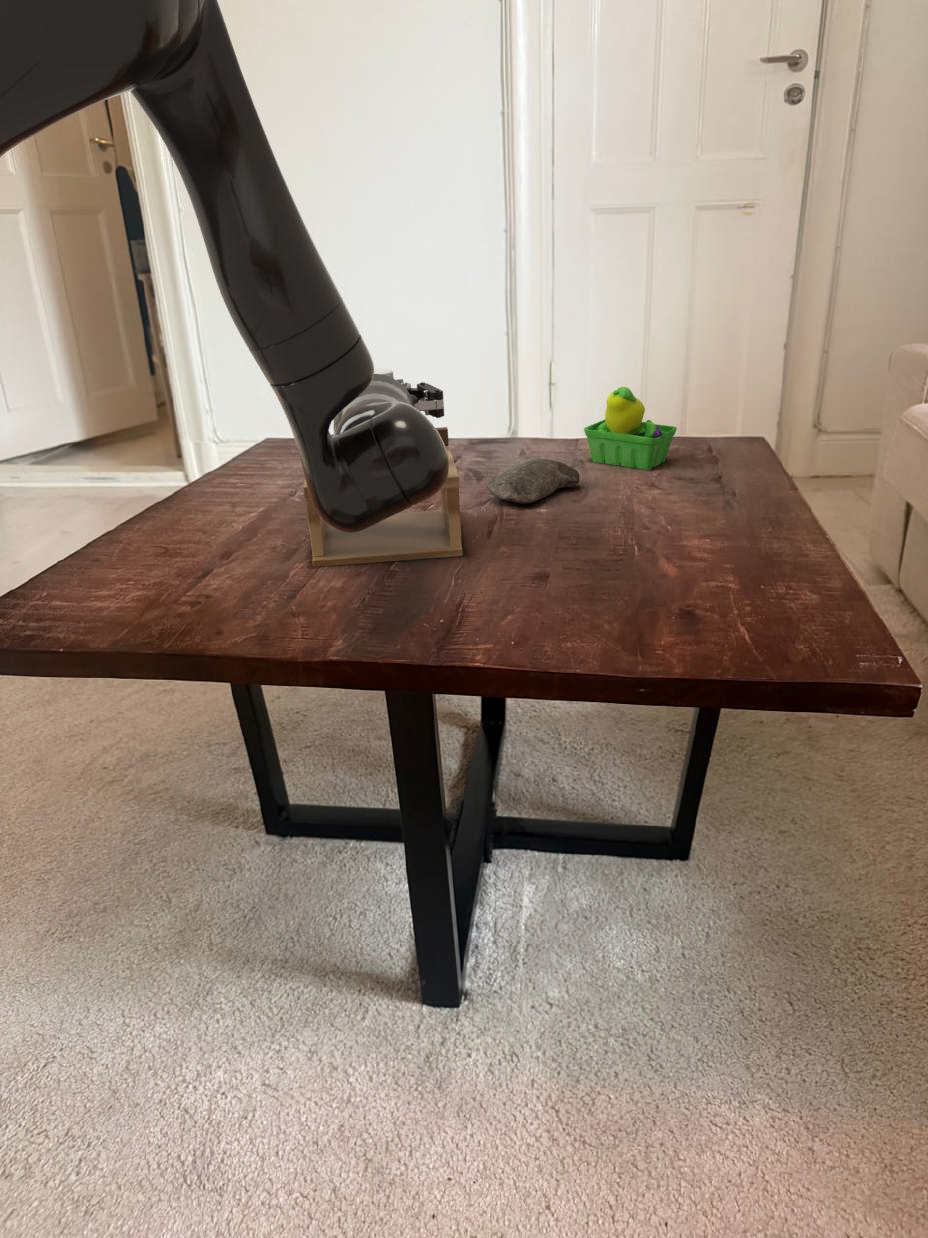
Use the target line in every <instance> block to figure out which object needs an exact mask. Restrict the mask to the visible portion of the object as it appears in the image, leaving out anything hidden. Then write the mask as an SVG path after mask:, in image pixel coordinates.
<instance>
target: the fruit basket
mask: <svg viewBox="0 0 928 1238" xmlns="http://www.w3.org/2000/svg"><path fill="white" fill-rule="evenodd" d="M645 411H646V407H645V406H644V404H643V402H642V401H641V400H639V398H638V397H636V396H635V395H634V394H633V392H632V391H631V389H630V388H629V387H627V386H620V387H617V389H614V390H613V391H612V392H610V394H609V395H608V397H607V399H606V408H605V414H604V419H602V420H599V421H597V422H595V423H592V424H589V425H588V426H585V427H583V431H584V435H585V436H586V439H587V443H588V448H589V451H590V452H589V453H590V456H591V460H592V462H593V463H599V464H607V465H613V466H622V467H627V468H634V469H641V470H649V471H650V470H652V469H653V468H655V467H657V466H659V465H661V464H662V463H665V462H666V459H667V456H668V454H669V450H670V448H671V444H672V442H673V439H674V436H675V435H676V432H677V429H678V427H677V426H673V425H665V424H658V423H657V424H656V423H654V422H653V421H652V420H651V419H647V420H646V421H643V419H644V415H645Z"/></svg>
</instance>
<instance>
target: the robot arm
mask: <svg viewBox="0 0 928 1238" xmlns="http://www.w3.org/2000/svg"><path fill="white" fill-rule="evenodd" d="M240 66H241V65H240V64H239V60H238V58H237V55H236V51H235V48H234V45H233V42H232V40H231V36H230V33H229V30H228V27H227V25H226V22H225V19H224V16H223V12H222V10H221V7H220V4H219V1H218V0H0V158H2V157H3V156H4V155H5V154H6V153H7V152H9V151H10V150H12V149H13V148H15V147H16V146H18V145H19V144H21V143H22V142H24V141H26V140H28V139H30V138H32V137H34V136H35V135H38V134H39V133H40V132H43V131H44V130H46V129H48V128H50V127H51V126H53V125H55V124H58V123H59V122H61V121H63V120H65V119H66V118H69V117H71V116H73V115H75V114H77V113H79V112H81V111H83V110H85V109H88V108H91V107H92V106H94V105H96V104H98V103H100V102H103V101H106V100H110V99H112V98H116V97H119V96H121V95H124V94H126V93H129V92H130V94H132V96H133V98H134V99H135V100H136V101H137V103H138V104H139V106H140V107H141V108H142V110H143V111H144V113H145V115H146V116H147V117H148V119H149V120H150V121H151V124H152V125H153V126H154V128H155V129H156V131H157V132H158V134H159V136H160V138H161V140H162V141H163V143H164V145H165V146H166V148H167V149H166V150H168V152H169V154H170V156H171V158H172V161H173V162H174V164H175V166H176V169H177V170H178V173H179V175H180V177H181V180H182V182H183V185H184V187H185V189H186V191H187V194H188V196H189V200H190V203H191V205H192V208H193V211H194V214H195V217H196V219H197V223H198V226H199V230H200V232H201V235H202V239H203V242H204V246H205V249H206V253H207V256H208V259H209V262H210V263H209V264H210V266H211V269H212V272H213V276H214V278H215V282H216V284H217V288H218V290H219V292H220V295H221V297H222V300H223V302H224V305H225V306H226V309H227V311H228V313H229V316H230V318H231V320H232V322H233V324H234V326H235V327H236V329H237V331H238V333H239V334H240V337H241V338H242V340H243V342H244V344H245V345H246V347H247V348H248V350H249V352H250V354H251V356H252V357H253V359H254V361H255V362H256V364H257V366H258V367H259V369H260V370H261V372H262V374H263V376H264V377H265V379H266V381H267V382H268V383H269V385H270V387H271V390H272V391H273V392H274V394H275V396H276V398H277V400H278V401H279V404H280V406H281V408H282V410H283V412H284V415H285V417H286V419H287V423H288V424H289V427H290V430H291V433H292V436H293V438H294V441H295V444H296V449H297V453H298V455H299V459H300V464H301V467H302V471H303V475H304V481H305V480H306V484H307V488H308V491H309V494H310V497H311V500H312V503H313V505H314V507H315V509H316V511H317V513H318V514H319V515H320V517H321V518H322V519H323V520H324V521H325V522H326V523H327V524H329V525H330V526H332V527H334V528H335V529H337V530H340V531H343V532H348V533H354V532H358V531H362V530H364V529H366V528H368V527H371V526H373V525H375V524H377V523H379V522H381V521H383V520H385V519H387V518H389V517H391V516H393V515H395V514H397V513H402V512H404V511H406V510H407V509H410V508H411V507H413V506H416V505H418V504H421V503H422V502H424V501H425V502H426V501H427V500H428V499H430V498H432V497H433V496H435V495H436V494H437V493H438V492H439V491H441V487H442V486H443V485H444V483H445V481H446V479H447V476H448V470H449V462H448V455H447V451H446V448H445V445H444V443H443V440H442V438H441V436H440V434H439V433H438V431H437V430H436V428H437V427H436V426H435V425H434V424H433V423H432V421H431V420H430V419H429V418H428V417H427V416H431V417H433V418H436V419H441V418H442V417H445V403H444V402H445V401H444V390H442V389H440V388H438V387H436V386H434V385H432V384H429V383H426V382H425V381H423V382H420V383H417V384H416V387H412V384H411V383H409V382H404V379H403V378H400V379H395V378H394V379H393V378H391V377H389V376H386V375H382V374H374V369H375V364H374V360H373V358H372V355H371V352H370V350H369V349H368V346H367V344H366V342H365V341H364V339H363V336H362V335H361V333H360V330H359V328H358V326H357V325H356V322H355V321H354V319H353V316H352V315H351V313H350V311H349V309H348V307H347V305H346V303H345V300H344V299H343V297H342V295H341V293H340V291H339V290H338V287H337V285H336V283H335V281H334V280H333V278H332V275H331V274H330V272H329V270H328V268H327V266H326V264H325V263H324V261H323V258H322V257H321V256H322V255H320V252H319V250H318V249H317V247H316V244H315V243H314V240H313V238H312V236H311V233H310V232H309V230H308V228H307V226H306V224H305V222H304V219H303V217H302V216H301V213H300V211H299V209H298V207H297V205H296V202H295V200H294V197H293V196H292V193H291V191H290V189H289V186H288V184H287V182H286V180H285V177H284V175H283V173H282V171H281V169H280V166H279V163H278V161H277V159H276V157H275V153H274V151H273V148H272V146H271V143H270V141H269V139H268V136H267V134H266V131H265V129H264V126H263V124H262V121H261V118H260V116H259V113H258V111H257V109H256V107H255V104H254V101H253V98H252V96H251V94H250V90H249V87H248V85H247V82H246V79H245V78H244V75H243V72H242V68H241V67H240ZM423 412H424V414H423ZM332 422H333V428H332V429H333V434H334V436H331V435H332V434H331V433H330V428H331V425H332Z"/></svg>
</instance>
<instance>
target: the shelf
mask: <svg viewBox="0 0 928 1238" xmlns="http://www.w3.org/2000/svg"><path fill="white" fill-rule="evenodd" d="M435 428H436V430H437V431H438V433H439V434H440V436H441V438H442V440H443V443H444V445H445V448H446V451H447V455H448V462H449V470H448V476H447V479H446V481H445V483H444V485H443V486H442V487H441V489H440V497H441V498H440V499H441V500H440V501H441V509H434V510H418V511H405V512H404V511H403V512H399V513H397V514H395V515H393V516H391V517H389V518H387V519H385V520H383V521H381V522H379V523H377V524H375V525H373V526H371V527H368V528H366V529H364V530H362V531H358V532H354V533H348V532H343V531H340V530H337V529H335V528H334V527H332V526H330V525H329V524H327V523H326V522H325V521H324V520H323V519H322V518H321V517H320V515H319V514H318V513H317V511H316V509H315V507H314V505H313V503H312V500H311V497H310V494H309V491H308V488H307V484H306V480H305V479H304V482H303V487H302V492H303V498H304V499H305V506H306V507H305V508H306V513H307V514H306V515H307V522H308V531H309V539H310V546H311V553H312V554H311V555H312V560H311V562H312V563H311V564H312V567H313V568H318V567H329V566H330V567H331V566H345V565H357V564H371V563H385V562H394V561H395V562H396V561H397V562H398V561H399V562H400V561H409V560H410V561H411V560H423V559H437V558H439V559H440V558H450V557H462V556H464V553H463V547H462V527H461V525H462V524H461V505H460V504H461V503H460V487H461V485H460V476H459V475H460V474H459V472H458V470H457V466H456V464H455V460H454V457H453V455H452V451H451V449H450V447H449V429H448V427H447V426H442V427H435ZM331 436H334V433H333V434H331Z"/></svg>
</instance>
